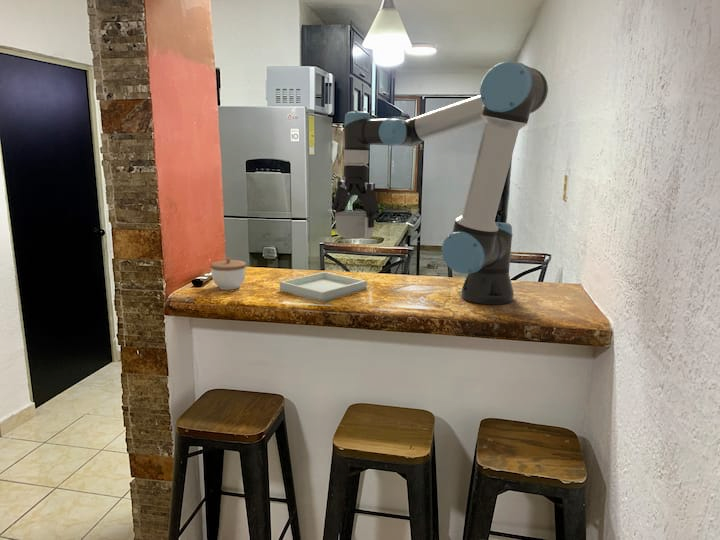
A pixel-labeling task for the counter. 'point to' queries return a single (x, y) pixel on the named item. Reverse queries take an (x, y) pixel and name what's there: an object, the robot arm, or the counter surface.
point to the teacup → (350, 224)
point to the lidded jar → (228, 273)
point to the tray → (323, 286)
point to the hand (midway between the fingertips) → (354, 235)
